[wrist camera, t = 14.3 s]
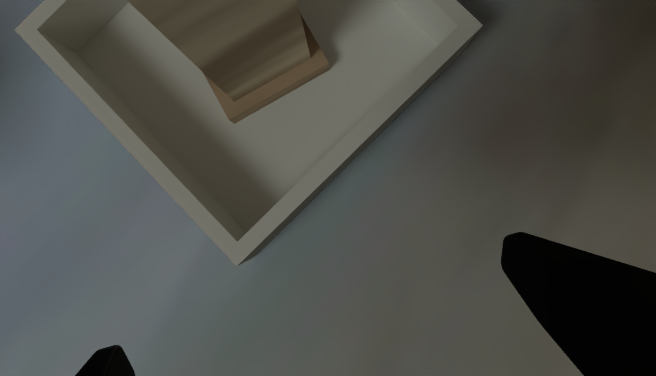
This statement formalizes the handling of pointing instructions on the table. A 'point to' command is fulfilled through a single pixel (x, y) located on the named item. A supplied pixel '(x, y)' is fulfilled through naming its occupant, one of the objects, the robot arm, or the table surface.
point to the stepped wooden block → (241, 47)
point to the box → (265, 124)
